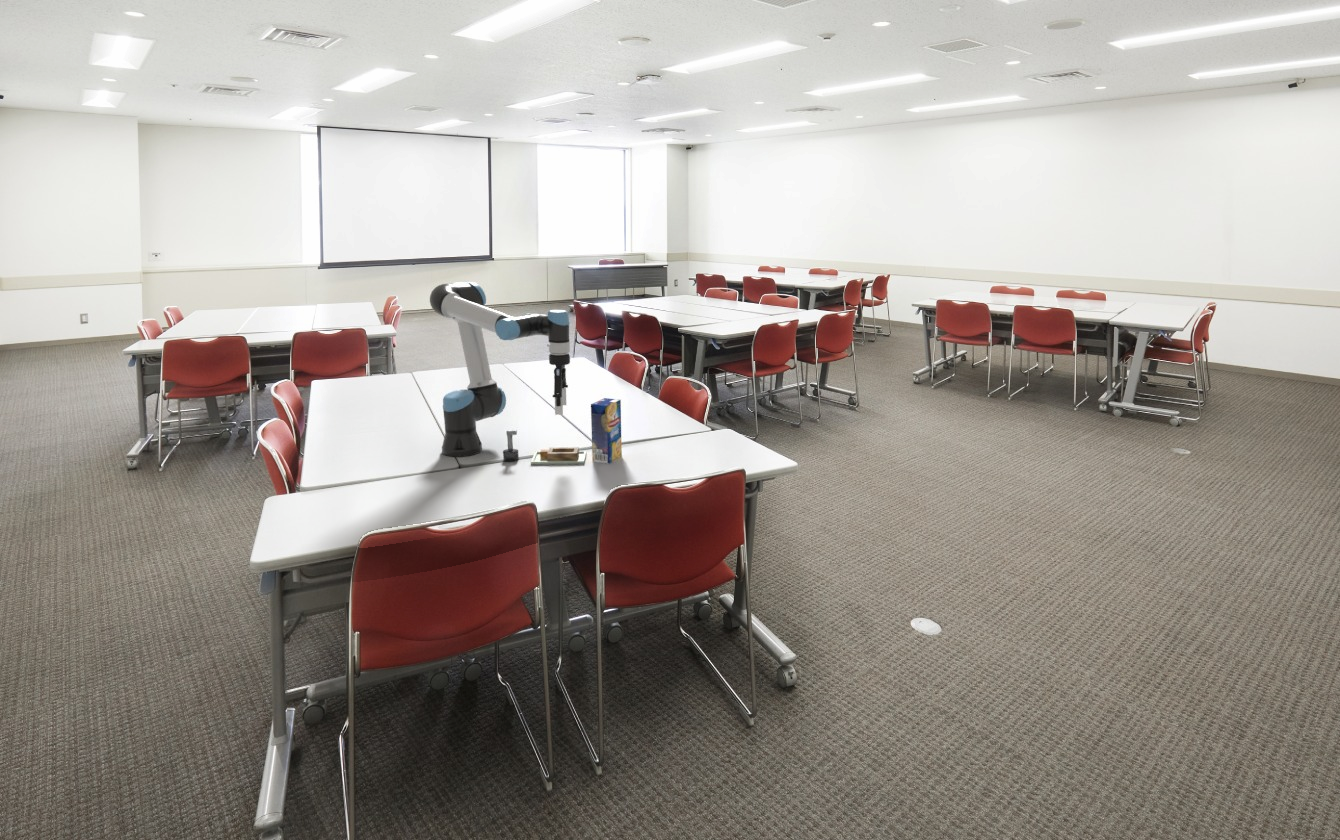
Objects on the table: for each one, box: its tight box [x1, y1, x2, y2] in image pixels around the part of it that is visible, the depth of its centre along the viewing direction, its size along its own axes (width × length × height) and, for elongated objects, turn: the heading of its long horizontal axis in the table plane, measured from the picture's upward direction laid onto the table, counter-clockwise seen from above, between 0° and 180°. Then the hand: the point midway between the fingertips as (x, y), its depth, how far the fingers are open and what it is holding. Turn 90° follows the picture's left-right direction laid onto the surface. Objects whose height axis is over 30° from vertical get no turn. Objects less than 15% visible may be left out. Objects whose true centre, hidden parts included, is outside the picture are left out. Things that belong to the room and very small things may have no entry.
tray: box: [530, 450, 587, 466], centre depth 281 cm, size 20×13×1 cm, turn 92°
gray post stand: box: [502, 429, 520, 463], centre depth 280 cm, size 6×6×12 cm
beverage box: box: [590, 397, 623, 464], centre depth 280 cm, size 7×11×22 cm, turn 158°
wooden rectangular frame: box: [539, 446, 580, 461], centre depth 281 cm, size 14×8×3 cm, turn 92°
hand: (560, 409), depth 277 cm, fingers open, 13 cm apart
